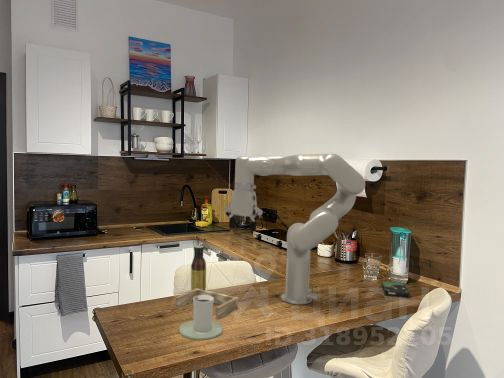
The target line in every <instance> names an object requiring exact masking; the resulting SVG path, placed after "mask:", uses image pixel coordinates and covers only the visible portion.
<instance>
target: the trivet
mask: <svg viewBox="0 0 504 378" xmlns="http://www.w3.org/2000/svg"><path fill="white" fill-rule="evenodd" d="M223 329H224V328H223V325H221V323H219V322H218V321H214V320H212V328H211V330H209V331H206V332H198V331H195V330H194V319H193V320H189V321H186V322H184V323H182V324H181V325H180V326H179V334H180V335H181V336H182V337H184V338H187V339H190V340H196V341H197V340H199V341H205V340H211V339H215V338H217V337H219V336H220V335H221V334H222V333H223Z"/></svg>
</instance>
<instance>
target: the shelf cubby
mask: <svg viewBox="0 0 504 378" xmlns="http://www.w3.org/2000/svg"><path fill="white" fill-rule="evenodd" d="M198 295H209V296H212V297H213V298H214V302H213V304H214V303H215V305H218V304H219V305H218V306H216V307H215V309H216V310H215V319H216V320H220V319H222V318H224V317H225V316H227V315H228V314H230V313H232V312H233V311H235V310H237V309H239V297H238V296H232V295H228V294H223V293H219V292H216V291H215V292H214V291H210V290H202V289H197V288H196V289H194V290H192V291H191V290H189V291H188V292H185V293H183V294H182V293H181V294H180V295H178V296H175V300H174V301H175V304H174V305H175V307H174V308H175V309H180V308H182V307H185V306H186V305H188V304H190V302H191V303H193V302H192V301H193V298H194V297H195V296H198ZM187 303H188V304H187ZM185 304H186V305H185ZM226 314H227V315H226Z"/></svg>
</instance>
